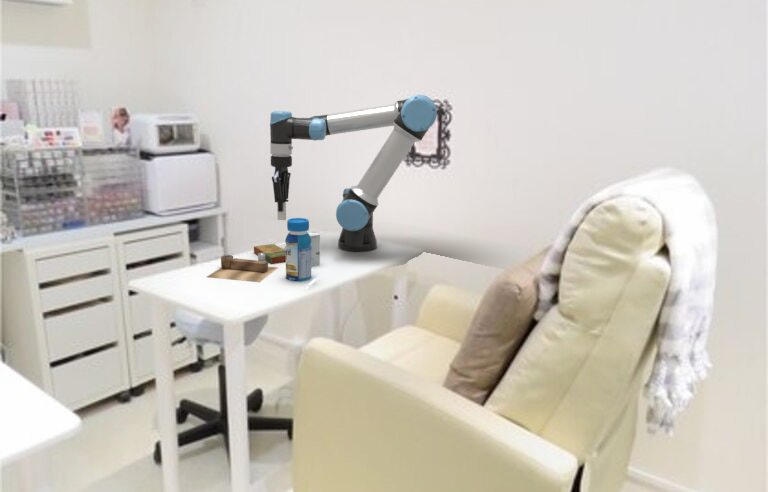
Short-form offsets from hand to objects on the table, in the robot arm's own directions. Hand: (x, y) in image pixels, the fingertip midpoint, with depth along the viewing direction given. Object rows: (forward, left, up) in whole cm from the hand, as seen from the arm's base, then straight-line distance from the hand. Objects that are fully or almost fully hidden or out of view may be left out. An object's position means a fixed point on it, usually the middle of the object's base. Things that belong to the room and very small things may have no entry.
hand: (281, 219), depth 216 cm
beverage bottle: (-17, +29, -13) cm, 36 cm away
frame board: (+2, +29, -13) cm, 32 cm away
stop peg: (-2, +23, -12) cm, 26 cm away
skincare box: (-16, +15, -13) cm, 26 cm away
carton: (0, +10, -13) cm, 17 cm away
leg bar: (+3, +27, -11) cm, 29 cm away
